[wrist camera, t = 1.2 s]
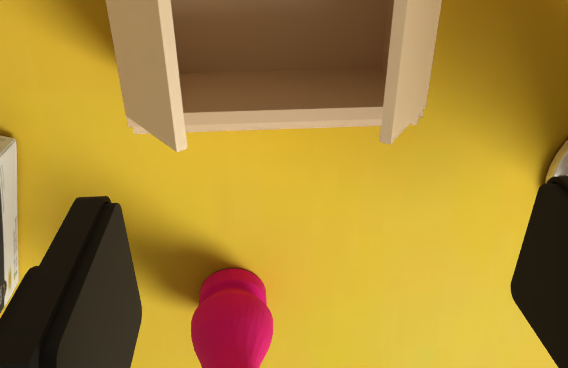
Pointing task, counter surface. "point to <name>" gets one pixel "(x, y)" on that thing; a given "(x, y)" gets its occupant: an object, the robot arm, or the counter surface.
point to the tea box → (8, 219)
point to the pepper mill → (232, 321)
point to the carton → (281, 63)
